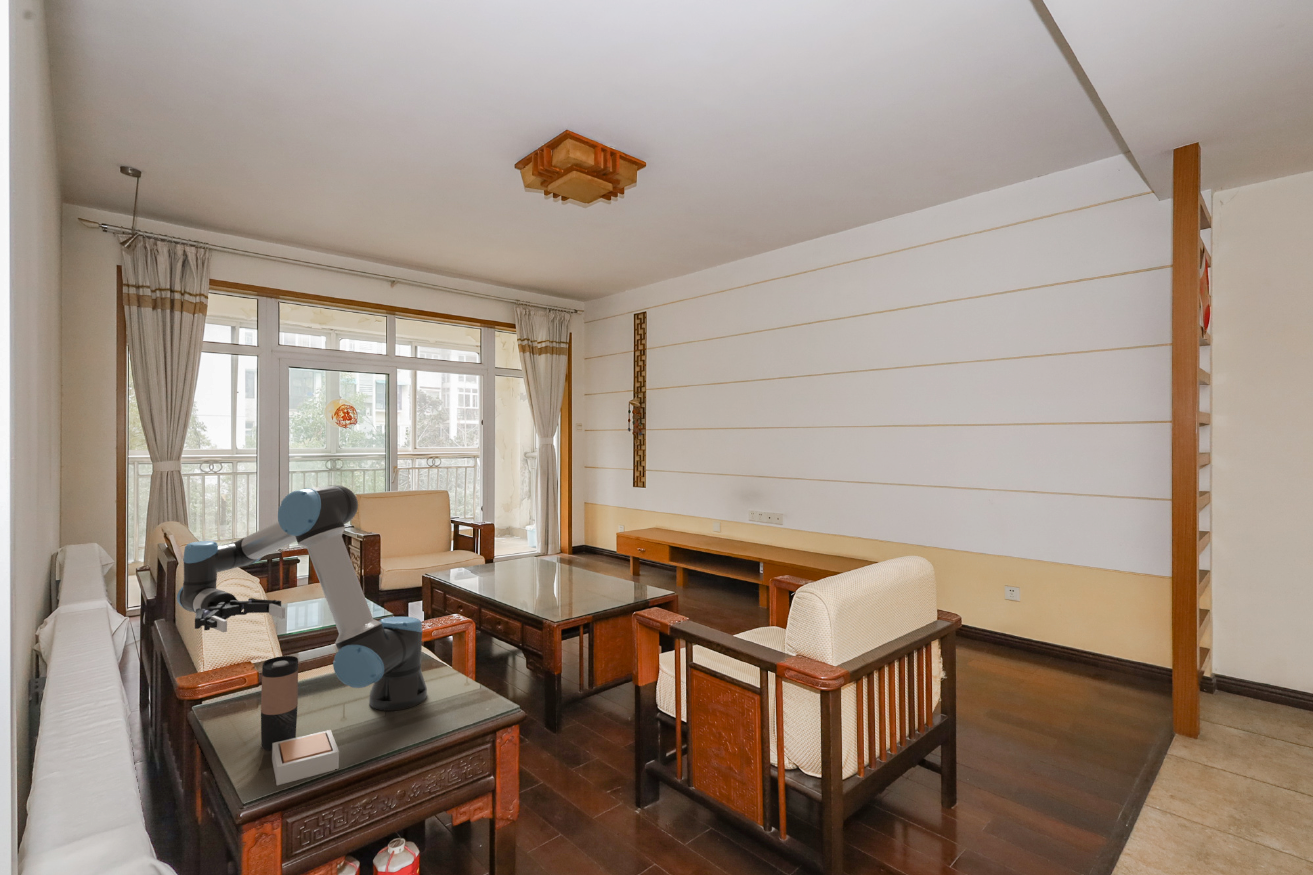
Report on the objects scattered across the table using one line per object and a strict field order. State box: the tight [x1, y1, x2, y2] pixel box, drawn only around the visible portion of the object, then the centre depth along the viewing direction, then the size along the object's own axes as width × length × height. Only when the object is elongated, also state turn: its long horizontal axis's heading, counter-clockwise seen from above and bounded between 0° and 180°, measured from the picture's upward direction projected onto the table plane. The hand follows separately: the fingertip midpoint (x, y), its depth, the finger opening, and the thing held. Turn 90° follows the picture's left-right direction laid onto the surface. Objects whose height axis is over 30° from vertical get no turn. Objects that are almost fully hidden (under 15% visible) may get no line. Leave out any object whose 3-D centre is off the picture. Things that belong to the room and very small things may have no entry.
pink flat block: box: [280, 733, 331, 764], centre depth 142 cm, size 9×9×3 cm
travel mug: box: [260, 655, 299, 751], centre depth 151 cm, size 8×8×20 cm
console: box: [271, 729, 340, 786], centre depth 142 cm, size 12×12×4 cm
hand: (255, 619), depth 156 cm, fingers open, 13 cm apart
